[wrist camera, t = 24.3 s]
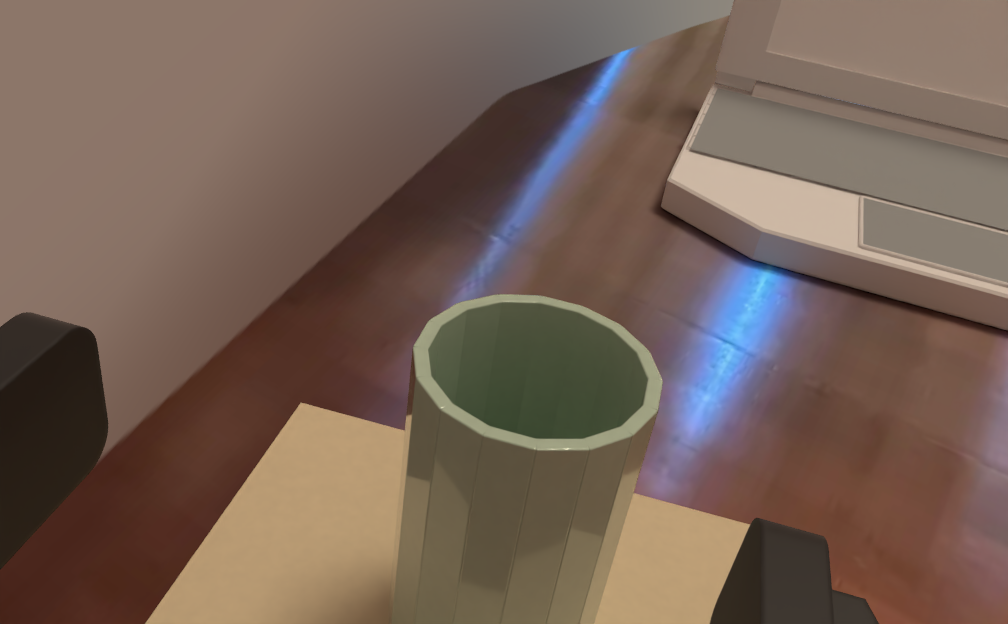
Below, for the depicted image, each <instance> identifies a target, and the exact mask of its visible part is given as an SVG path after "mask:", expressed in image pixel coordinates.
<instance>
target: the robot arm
mask: <svg viewBox="0 0 1008 624" xmlns="http://www.w3.org/2000/svg"><path fill="white" fill-rule="evenodd" d="M107 433H108V418H107V411H106V404H105V397H104V390H103V384H102V375H101V369H100V361H99V354H98V347H97V342H96V338H95V336H94V334H93V333H92V332H91V331H90V330H89V329H87V328H84V327H81V326H77V325H73V324H69V323H66V322H63V321H59V320H56V319H52V318H49V317H45V316H41V315H38V314H34V313H27V312H26V313H21V314H19V315H17V316H15V317H13V318H12V319H10V320H9V321H8V322H6V323H5V324H4V325H2V326H1V327H0V569H1V568H2V567H3V566H4V565H5V564H6V563H7V562H8V561H9V560H10V559H11V557H12V556H13V555H14V554H15V553H16V552H17V551H18V550H19V549H20V548H21V547H22V546H23V544H24V543H25V542H26V541H27V540H28V539H29V538H30V537H31V536H32V535H33V534H34V532H35V531H36V530H37V529H38V528H39V527H40V526H41V525H42V524H43V523H44V522H45V521H46V519H47V518H48V517H49V516H50V515H51V514H52V513H53V512H54V511H55V510H56V509H57V508H58V506H59V505H60V504H61V503H62V502H63V501H64V500H65V499H66V498H67V497H68V496H69V495H70V493H71V492H72V491H73V490H74V489H75V488H76V487H77V486H78V485H79V484H80V483H81V482H82V480H83V479H84V478H85V477H86V476H87V475H88V474H89V473H90V471H91V470H92V469H93V468H94V466H95V465H96V463H97V461H98V459H99V458H100V456H101V453H102V451H103V448H104V446H105V442H106V438H107ZM710 624H879V623H878V621H877V620H876V618H875V616H874V614H873V612H872V611H871V609H870V607H869V605H868V603H867V602H866V600H865V599H863V598H860V597H856V596H853V595H849V594H846V593H842V592H839V591H835V590H832V586H831V573H830V561H829V550H828V544H827V541H826V539H825V538H824V537H823V536H820V535H817V534H813V533H810V532H806V531H803V530H799V529H795V528H792V527H788V526H785V525H781V524H778V523H774V522H770V521H767V520H763V519H760V518H755V519H754V520H753V521H752V523H751V525H750V526H749V528H748V531H747V533H746V535H745V537H744V540H743V542H742V544H741V547H740V549H739V551H738V553H737V556H736V558H735V560H734V563H733V565H732V567H731V570H730V572H729V574H728V576H727V579H726V581H725V583H724V586H723V588H722V590H721V592H720V595H719V597H718V599H717V602H716V604H715V607H714V610H713V613H712V616H711V620H710Z"/></svg>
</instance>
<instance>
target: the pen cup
mask: <svg viewBox="0 0 1008 624" xmlns="http://www.w3.org/2000/svg"><path fill="white" fill-rule="evenodd" d="M662 385H663V382H662V378H661V376H660V374H659V371H658V369H657V367H656V365H655V362H654V360H653V358H652V356H651V354H650V352H649V351H648V349H647V348H645V347H644V346H643V345H642V344H641V343H640V342H639V341H638V340H637V339H636V338H635V337H634V336H632V335H631V334H630V333H629V332H628V331H627V330H626V329H625V328H624V327H623V326H621V325H620V324H618V323H616V322H614V321H612V320H610V319H608V318H606V317H604V316H602V315H600V314H598V313H596V312H594V311H592V310H590V309H588V308H586V307H583V306H581V305H577V304H573V303H569V302H565V301H561V300H557V299H553V298H549V297H545V296H539V295H508V294H498V295H491V296H487V297H482V298H477V299H473V300H468V301H463V302H460V303H457V304H455V305H454V306H452V307H450V308H449V309H447V310H445V311H444V312H442V313H440V314H439V315H437V316H435V317H434V318H432V319H430V320H429V321H428V322H427V324H426V326H425V327H424V329H423V331H422V333H421V334H420V336H419V338H418V339H417V341H416V343H415V344H414V346H413V351H412V362H411V372H410V383H409V394H408V404H407V415H406V425H405V436H404V446H403V457H402V468H401V478H400V489H399V499H398V510H397V521H396V531H395V542H394V552H393V563H392V574H391V584H390V595H389V621H388V624H594V623H595V619H596V616H597V613H598V609H599V606H600V603H601V599H602V596H603V593H604V589H605V586H606V583H607V579H608V576H609V573H610V569H611V566H612V563H613V559H614V556H615V553H616V549H617V546H618V543H619V539H620V536H621V533H622V529H623V526H624V523H625V519H626V516H627V513H628V509H629V506H630V503H631V499H632V496H633V493H634V490H635V486H636V483H637V480H638V476H639V473H640V470H641V466H642V463H643V460H644V456H645V453H646V450H647V446H648V443H649V440H650V436H651V433H652V430H653V426H654V423H655V420H656V416H657V413H658V409H659V403H660V397H661V391H662Z"/></svg>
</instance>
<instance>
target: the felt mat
mask: <svg viewBox="0 0 1008 624" xmlns="http://www.w3.org/2000/svg"><path fill="white" fill-rule="evenodd" d="M404 436H405V431H403V430H399V429H396V428H392V427H388V426H385V425H381V424H377V423H374V422H370V421H366V420H363V419H359V418H355V417H352V416H348V415H344V414H341V413H337V412H333V411H330V410H326V409H322V408H319V407H315V406H311V405H308V404H304V403H300V405H299V406H298V407H297V409H296V410H295V412H294V413H293V415H292V416H291V417H290V419H289V420H288V422H287V423H286V425H285V426H284V427H283V429H282V430H281V432H280V433H279V434H278V436H277V437H276V439H275V440H274V442H273V443H272V444H271V446H270V447H269V449H268V450H267V451H266V453H265V454H264V456H263V457H262V459H261V460H260V461H259V463H258V464H257V466H256V467H255V468H254V470H253V471H252V473H251V474H250V476H249V477H248V478H247V480H246V481H245V483H244V484H243V486H242V487H241V488H240V490H239V491H238V493H237V494H236V495H235V497H234V498H233V500H232V501H231V503H230V504H229V505H228V507H227V508H226V510H225V511H224V512H223V514H222V515H221V517H220V518H219V520H218V521H217V522H216V524H215V525H214V527H213V528H212V530H211V531H210V532H209V534H208V535H207V537H206V538H205V539H204V541H203V542H202V544H201V545H200V547H199V548H198V549H197V551H196V552H195V554H194V555H193V556H192V558H191V559H190V561H189V562H188V564H187V565H186V566H185V568H184V569H183V571H182V572H181V573H180V575H179V576H178V578H177V579H176V581H175V582H174V583H173V585H172V586H171V588H170V589H169V591H168V592H167V593H166V595H165V596H164V598H163V599H162V600H161V602H160V603H159V605H158V606H157V608H156V609H155V610H154V612H153V613H152V615H151V616H150V617H149V619H148V620H147V622H146V623H145V624H388V621H389V595H390V584H391V574H392V563H393V552H394V542H395V531H396V521H397V510H398V499H399V489H400V478H401V468H402V457H403V446H404ZM749 526H750V525H749V524H745V523H741V522H738V521H734V520H730V519H727V518H723V517H719V516H716V515H712V514H708V513H705V512H701V511H697V510H694V509H690V508H686V507H683V506H679V505H675V504H672V503H668V502H664V501H661V500H657V499H653V498H650V497H646V496H642V495H638V494H635V493H633V496H632V499H631V503H630V506H629V509H628V513H627V516H626V519H625V523H624V526H623V529H622V533H621V536H620V539H619V543H618V546H617V549H616V553H615V556H614V559H613V563H612V566H611V569H610V573H609V576H608V579H607V583H606V586H605V589H604V593H603V596H602V599H601V603H600V606H599V609H598V613H597V616H596V619H595V623H594V624H710V620H711V616H712V613H713V610H714V607H715V604H716V602H717V599H718V597H719V595H720V592H721V590H722V588H723V586H724V583H725V581H726V579H727V576H728V574H729V572H730V570H731V567H732V565H733V563H734V560H735V558H736V556H737V553H738V551H739V549H740V547H741V544H742V542H743V540H744V537H745V535H746V533H747V531H748V528H749Z"/></svg>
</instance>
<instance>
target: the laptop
mask: <svg viewBox="0 0 1008 624" xmlns="http://www.w3.org/2000/svg"><path fill="white" fill-rule="evenodd" d="M715 70H717V71H718V72H717V76H716V80H715V83H716V84H714V85H712V87H711V89H710V91H709V93H708V95H707V97H706V99H705V101H704V104H703V106H702V108H701V110H700V112H699V114H698V116H697V118H696V120H695V122H694V125H693V127H692V129H691V131H690V133H689V135H688V137H687V139H686V141H685V144H684V146H683V148H682V150H681V152H680V154H679V156H678V158H677V160H676V162H675V165H674V167H673V169H672V171H671V173H670V175H669V177H668V179H667V183H666V187H665V191H664V195H663V199H662V204H661V207H662V208H663V209H664V210H666V211H668V212H670V213H671V214H673V215H675V216H677V217H678V218H680V219H682V220H684V221H685V222H687V223H689V224H691V225H692V226H694V227H696V228H698V229H699V230H701V231H703V232H705V233H706V234H708V235H710V236H712V237H713V238H715V239H717V240H719V241H721V242H722V243H724V244H726V245H728V246H729V247H731V248H733V249H735V250H736V251H738V252H740V253H742V254H743V255H745V256H747V257H749V258H750V259H752V260H755V261H759V262H763V263H766V264H770V265H773V266H777V267H781V268H784V269H788V270H791V271H795V272H798V273H802V274H806V275H809V276H813V277H816V278H820V279H824V280H827V281H831V282H834V283H838V284H842V285H845V286H849V287H852V288H856V289H860V290H863V291H867V292H870V293H874V294H878V295H881V296H885V297H888V298H892V299H896V300H899V301H903V302H906V303H910V304H914V305H917V306H921V307H924V308H928V309H931V310H935V311H939V312H942V313H946V314H949V315H953V316H957V317H960V318H964V319H967V320H971V321H975V322H978V323H982V324H985V325H989V326H993V327H996V328H1000V329H1003V330H1007V331H1008V140H1006V139H1008V0H734V2H733V6H732V10H731V13H730V17H729V21H728V24H727V28H726V32H725V35H724V39H723V43H722V47H721V50H720V54H719V58H718V61H717V65H716V69H715ZM757 80H759V81H757ZM755 81H756V83H755ZM762 81H763V82H762ZM766 82H767V83H766ZM770 83H771V84H770ZM717 84H720V85H717ZM754 84H755V86H754ZM774 84H776V85H774ZM721 85H724V86H721ZM778 85H780V86H778ZM725 86H729V87H733V88H737V89H733V88H729V87H725ZM783 86H784V87H783ZM753 87H754V90H753ZM787 87H788V88H787ZM791 88H792V89H791ZM738 89H741V90H738ZM795 89H797V90H795ZM742 90H745V91H742ZM752 90H753V91H752ZM800 90H801V91H800ZM746 91H749V92H746ZM804 91H805V92H804ZM750 92H751V93H750ZM808 92H809V93H808ZM812 93H814V94H812ZM816 94H818V95H816ZM821 95H822V96H821ZM825 96H826V97H825ZM829 97H830V98H829ZM833 98H835V99H833ZM837 99H839V100H837ZM842 100H843V101H842ZM846 101H847V102H846ZM850 102H852V103H850ZM854 103H856V104H854ZM859 104H860V105H859ZM863 105H864V106H863ZM867 106H868V107H867ZM871 107H873V108H871ZM875 108H877V109H875ZM880 109H881V110H880ZM884 110H885V111H884ZM888 111H889V112H888ZM892 112H894V113H892ZM896 113H898V114H896ZM901 114H902V115H901ZM905 115H906V116H905ZM909 116H911V117H909ZM913 117H915V118H913ZM918 118H919V119H918ZM922 119H923V120H922ZM926 120H927V121H926ZM930 121H932V122H930ZM934 122H936V123H934ZM939 123H940V124H939ZM943 124H944V125H943ZM947 125H949V126H947ZM951 126H953V127H951ZM955 127H957V128H955ZM960 128H961V129H960ZM964 129H965V130H964ZM968 130H970V131H968ZM972 131H974V132H972ZM977 132H978V133H977ZM981 133H982V134H981ZM985 134H986V135H985ZM989 135H991V136H989ZM993 136H995V137H993ZM998 137H999V138H998ZM1002 138H1003V139H1002Z"/></svg>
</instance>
